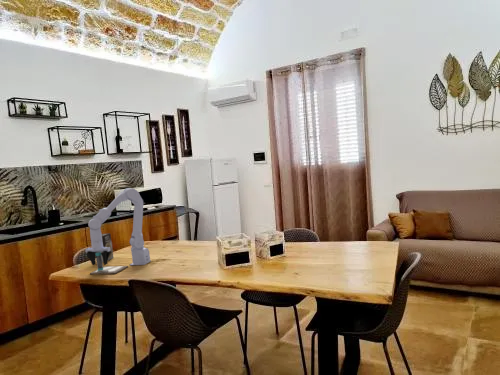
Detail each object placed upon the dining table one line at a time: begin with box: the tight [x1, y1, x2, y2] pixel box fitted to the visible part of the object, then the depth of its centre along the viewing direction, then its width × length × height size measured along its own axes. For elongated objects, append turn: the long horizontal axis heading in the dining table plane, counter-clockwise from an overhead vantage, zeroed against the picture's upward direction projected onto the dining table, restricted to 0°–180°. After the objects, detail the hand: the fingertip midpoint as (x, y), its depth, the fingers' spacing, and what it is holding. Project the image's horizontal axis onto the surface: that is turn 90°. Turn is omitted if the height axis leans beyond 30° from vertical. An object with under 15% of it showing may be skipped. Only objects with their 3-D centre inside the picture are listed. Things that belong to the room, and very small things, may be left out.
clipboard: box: [89, 265, 129, 275], centre depth 207 cm, size 16×12×2 cm
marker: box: [95, 252, 104, 271], centre depth 205 cm, size 3×3×10 cm
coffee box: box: [96, 232, 114, 263], centre depth 233 cm, size 9×6×16 cm
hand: (99, 264), depth 206 cm, fingers open, 7 cm apart
